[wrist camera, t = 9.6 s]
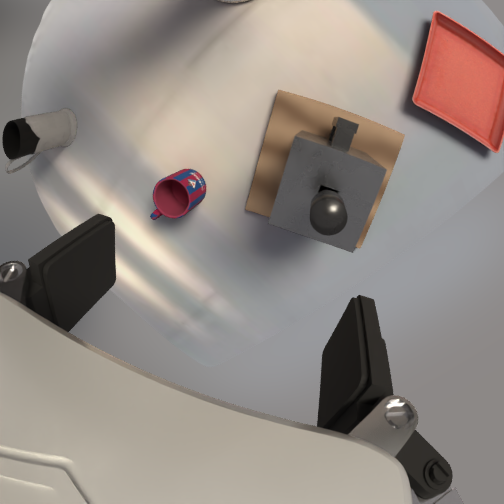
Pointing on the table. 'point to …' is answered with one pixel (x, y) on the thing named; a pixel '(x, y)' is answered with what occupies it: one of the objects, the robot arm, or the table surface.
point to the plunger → (328, 212)
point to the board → (320, 123)
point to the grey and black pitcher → (38, 135)
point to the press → (327, 183)
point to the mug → (178, 194)
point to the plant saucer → (463, 81)
